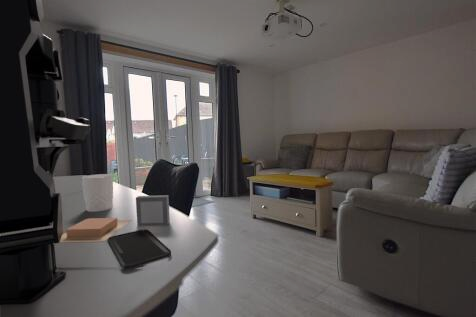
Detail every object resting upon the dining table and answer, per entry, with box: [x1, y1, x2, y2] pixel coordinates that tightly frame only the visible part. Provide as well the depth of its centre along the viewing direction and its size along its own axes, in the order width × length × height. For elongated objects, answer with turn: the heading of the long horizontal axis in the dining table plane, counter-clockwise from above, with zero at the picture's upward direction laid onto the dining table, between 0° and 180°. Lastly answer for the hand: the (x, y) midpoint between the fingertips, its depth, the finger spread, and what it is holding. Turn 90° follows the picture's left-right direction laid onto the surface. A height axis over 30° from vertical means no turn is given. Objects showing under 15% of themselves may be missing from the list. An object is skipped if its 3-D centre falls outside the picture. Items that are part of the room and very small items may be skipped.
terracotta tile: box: [65, 217, 118, 237], centre depth 54 cm, size 2×7×7 cm
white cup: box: [81, 173, 114, 213], centre depth 72 cm, size 8×8×10 cm
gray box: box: [135, 194, 171, 227], centre depth 57 cm, size 2×7×7 cm, turn 90°
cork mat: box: [58, 219, 133, 244], centre depth 55 cm, size 13×11×1 cm
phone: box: [107, 228, 172, 272], centre depth 46 cm, size 8×1×15 cm
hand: (47, 179), depth 52 cm, fingers closed
